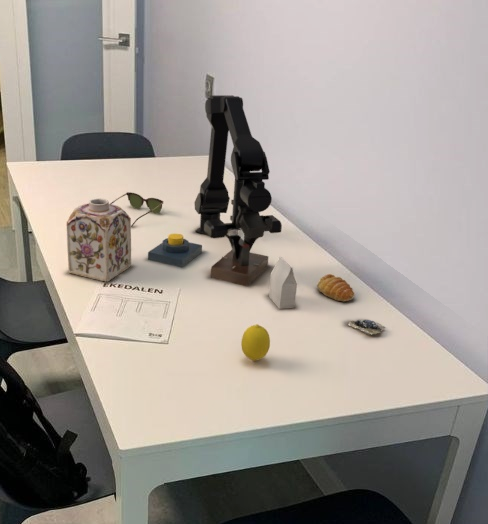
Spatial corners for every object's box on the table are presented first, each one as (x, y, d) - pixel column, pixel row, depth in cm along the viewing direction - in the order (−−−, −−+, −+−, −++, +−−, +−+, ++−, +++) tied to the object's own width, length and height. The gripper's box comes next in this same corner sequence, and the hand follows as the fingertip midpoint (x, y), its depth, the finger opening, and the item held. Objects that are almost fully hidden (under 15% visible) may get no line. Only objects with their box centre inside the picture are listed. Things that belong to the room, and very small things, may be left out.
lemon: (238, 353, 135) (241, 318, 131) (265, 353, 135) (268, 318, 132) (242, 368, 130) (245, 332, 126) (270, 367, 130) (274, 331, 127)
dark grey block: (232, 257, 172) (233, 237, 170) (239, 256, 173) (241, 237, 170) (241, 266, 167) (242, 246, 165) (248, 265, 168) (250, 245, 165)
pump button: (172, 239, 180) (172, 232, 179) (185, 242, 178) (186, 235, 177) (165, 244, 176) (165, 237, 175) (178, 247, 175) (179, 239, 174)
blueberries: (377, 339, 142) (379, 331, 141) (342, 328, 146) (343, 321, 145) (387, 327, 147) (389, 319, 146) (353, 317, 151) (354, 309, 150)
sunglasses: (164, 215, 208) (163, 200, 205) (135, 232, 197) (134, 216, 195) (127, 205, 214) (126, 191, 212) (97, 221, 204) (96, 206, 201)
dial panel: (231, 259, 179) (232, 248, 177) (267, 266, 175) (269, 255, 174) (210, 277, 167) (210, 266, 166) (248, 286, 164) (249, 274, 162)
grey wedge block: (279, 308, 153) (283, 268, 149) (268, 296, 159) (272, 257, 155) (294, 307, 154) (299, 267, 150) (283, 295, 160) (287, 256, 156)
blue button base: (169, 245, 186) (169, 231, 184) (201, 252, 182) (202, 238, 180) (147, 259, 176) (147, 245, 174) (181, 267, 172) (182, 253, 170)
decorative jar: (132, 266, 171) (132, 198, 163) (108, 283, 162) (106, 212, 154) (92, 257, 176) (90, 190, 167) (66, 273, 166) (63, 203, 158)
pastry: (360, 299, 160) (362, 285, 158) (339, 305, 156) (341, 291, 155) (334, 284, 167) (336, 270, 165) (313, 290, 163) (314, 275, 162)
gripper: (221, 211, 153) (217, 274, 160) (294, 206, 159) (288, 267, 166) (204, 197, 162) (201, 257, 169) (274, 192, 168) (269, 250, 175)
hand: (240, 258), depth 170 cm, fingers closed on dark grey block, 2 cm apart
